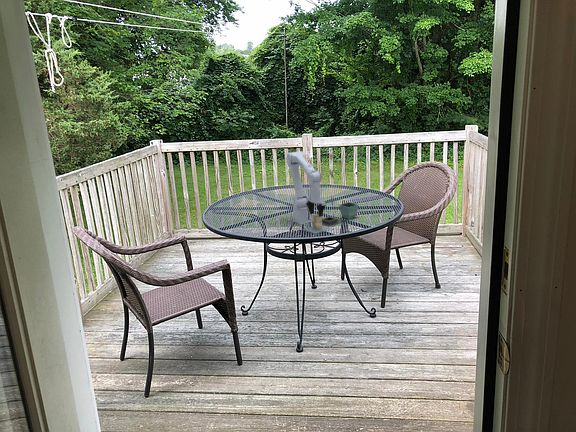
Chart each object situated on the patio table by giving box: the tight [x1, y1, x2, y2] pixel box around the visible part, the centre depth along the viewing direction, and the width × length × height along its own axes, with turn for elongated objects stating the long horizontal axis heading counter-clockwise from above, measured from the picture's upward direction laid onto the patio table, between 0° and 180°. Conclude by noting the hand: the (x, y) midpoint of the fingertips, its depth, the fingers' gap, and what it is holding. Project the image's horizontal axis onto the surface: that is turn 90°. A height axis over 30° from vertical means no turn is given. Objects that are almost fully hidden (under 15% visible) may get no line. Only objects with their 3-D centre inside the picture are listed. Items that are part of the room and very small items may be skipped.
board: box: [302, 225, 332, 235], centre depth 272 cm, size 12×12×1 cm
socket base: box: [322, 216, 348, 228], centre depth 284 cm, size 16×16×2 cm
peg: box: [311, 213, 323, 230], centre depth 271 cm, size 4×4×8 cm
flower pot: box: [338, 201, 359, 220], centre depth 289 cm, size 9×9×9 cm
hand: (316, 215), depth 270 cm, fingers open, 7 cm apart
